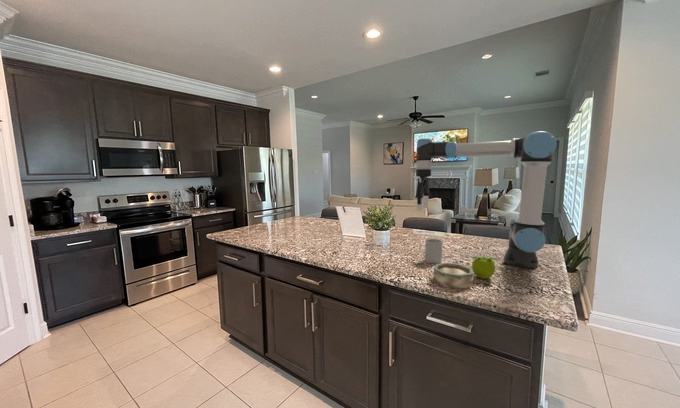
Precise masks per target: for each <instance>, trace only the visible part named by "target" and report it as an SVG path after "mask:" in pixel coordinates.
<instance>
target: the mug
mask: <svg viewBox="0 0 680 408" xmlns="http://www.w3.org/2000/svg"><path fill="white" fill-rule="evenodd" d="M424 246H425V247H424V249H425V250H424V251H425V252H424V261H425V262H426V263H429V264H441V263H443V260H442V259H443V240H440V239H436V238H428V239H426V240H425V245H424Z"/></svg>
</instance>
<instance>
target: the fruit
mask: <svg viewBox="0 0 680 408" xmlns="http://www.w3.org/2000/svg"><path fill="white" fill-rule="evenodd" d="M472 259H473V261H472V264H471V268H472V269H473V275H475V276H476V277H478V278H480V279H482V280H483V279H485V280H486V279H490V278H491V277H492V276H493V275H494V274H495V270H496V264H495V260H496V258H494V257H493V256H492V257H491V256H489V257H485V256H472ZM496 261H497V260H496Z"/></svg>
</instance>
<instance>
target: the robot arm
mask: <svg viewBox="0 0 680 408" xmlns="http://www.w3.org/2000/svg"><path fill="white" fill-rule="evenodd" d="M556 147H557V139H556V137H555V136H554V135H553V134H552V133H550V132H548V131H546V130H545V131H543V130H542V131H541V130H539V131H538V130H537V131H534V132H531V133H529V134H527V136H522V137H513V138H512V139H511V140H502V141H501V140H498V141H497V140H496V141H495V140H494V141H479V142H464V143H463V142H459V143H457V142H456V141H439V142H438V141H437V142H435V141H433V139H432V138H419V139H417V142H416V162H415V163H414V164H415V166H416V171H415V176H416V177H418V178H417V185H416V191H415V195H414V198H415V199H416V211H419V212H420V211H421V212H423V209H424V208H425V209H428V208H429V197H430V196H431V193H430V186H429V185H430V183H429V177H431V176H432V158H443V159H454V158H457V159H458V158H482V157H483V158H485V157H487V158H488V157H489V158H490V157H511V158H512V159H517V158H519V159H520V164H522V166H523V173H522V180H521V181H522V183H521V193H520V204H519V213H518V217H517V218H512V219H510V221H509V236H508V246H507V249H506V252H505V254H504V256H503V262H504V263H505V264H507V265H509V266H513V267H518V268H522V269H524V268H525V269H534V268H539V259H538V256H537V253H536V252H538V251H540V250H542V249H543V247H545V245H546V236H545V224H546V223H545V222H544V221H543V220H542V214H543V204H544V197H545V196H544V195H545V188H546V186H545V185H546V178H547V167H548V166H549V165H551V164H552V161H553V154H554V152H555V150H556Z"/></svg>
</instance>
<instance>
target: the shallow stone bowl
mask: <svg viewBox="0 0 680 408" xmlns="http://www.w3.org/2000/svg"><path fill="white" fill-rule="evenodd" d="M434 264H435V265H434V267H433V279H432V280H433V281H434V282H435V283H436V284H437V285H440V286H442V287H446V288H450V289H458V290H459V289H469V288H471V287H473V285H474V272H473V269H472V267H468V266H467V265H464V264H460V263H454V262H453V263H451V262H441V263H434Z"/></svg>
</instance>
